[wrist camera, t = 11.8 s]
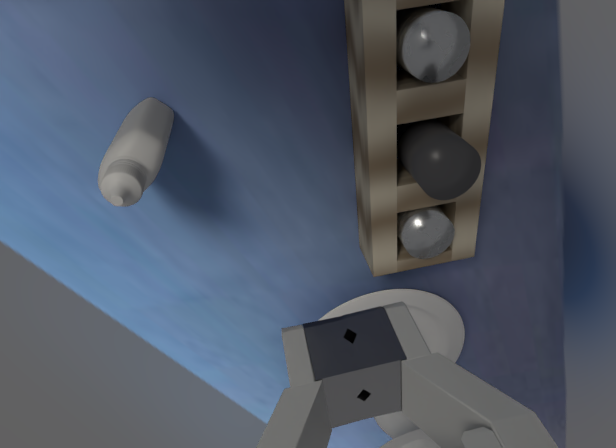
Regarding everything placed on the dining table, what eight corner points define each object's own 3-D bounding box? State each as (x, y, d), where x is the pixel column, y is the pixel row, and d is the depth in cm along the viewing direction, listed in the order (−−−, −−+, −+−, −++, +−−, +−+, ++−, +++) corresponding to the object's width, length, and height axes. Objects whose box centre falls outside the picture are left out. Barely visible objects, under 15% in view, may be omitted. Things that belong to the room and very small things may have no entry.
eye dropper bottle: (191, 138, 36) (179, 210, 26) (131, 165, 37) (97, 247, 27) (162, 89, 34) (138, 149, 24) (98, 119, 34) (48, 190, 24)
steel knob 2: (386, 193, 41) (405, 221, 37) (432, 184, 42) (456, 211, 38) (387, 233, 44) (404, 263, 40) (430, 224, 44) (452, 253, 40)
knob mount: (343, -13, 32) (361, -7, 28) (471, -32, 33) (508, -29, 29) (359, 246, 45) (373, 277, 41) (451, 228, 46) (474, 256, 42)
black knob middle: (397, 124, 34) (421, 148, 30) (452, 114, 35) (484, 137, 31) (397, 176, 37) (419, 205, 33) (449, 166, 37) (478, 194, 33)
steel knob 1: (382, 8, 33) (406, 17, 28) (441, -1, 33) (473, 7, 29) (383, 71, 35) (406, 87, 31) (438, 62, 36) (467, 77, 31)
